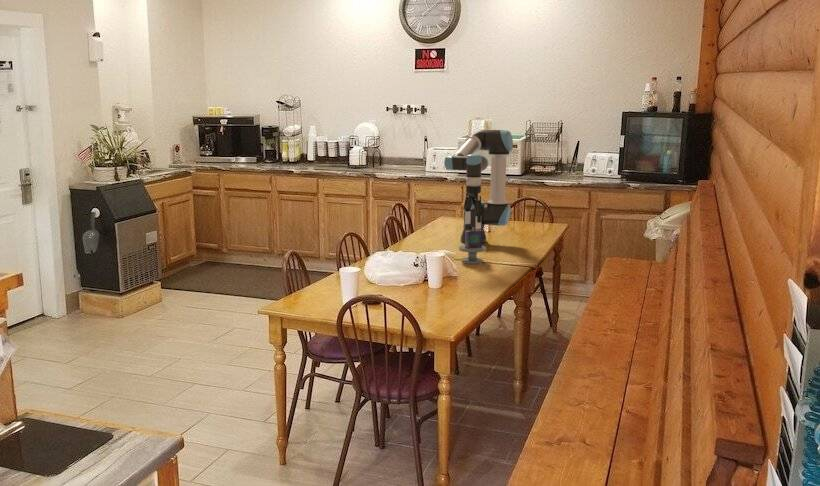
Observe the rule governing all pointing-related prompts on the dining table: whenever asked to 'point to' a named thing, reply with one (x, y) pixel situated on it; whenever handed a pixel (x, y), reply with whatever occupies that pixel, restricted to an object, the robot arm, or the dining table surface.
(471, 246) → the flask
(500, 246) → the dining table surface
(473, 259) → the cake stand
